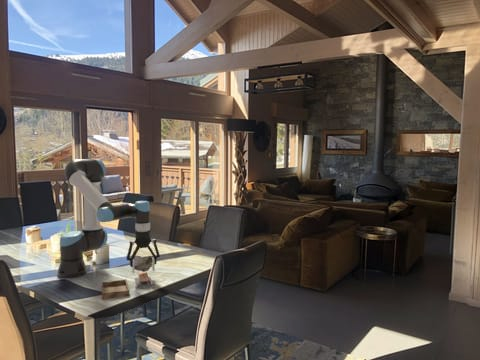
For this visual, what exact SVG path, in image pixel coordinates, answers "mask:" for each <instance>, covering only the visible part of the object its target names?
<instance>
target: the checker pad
mask: <svg viewBox="0 0 480 360" xmlns="http://www.w3.org/2000/svg"><path fill="white" fill-rule="evenodd" d="M137 275H138V278H140V281H141V282H142V281H149V277H148V275H149V274H148V272H147V271H145V272H142V271H138V272H137Z"/></svg>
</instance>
